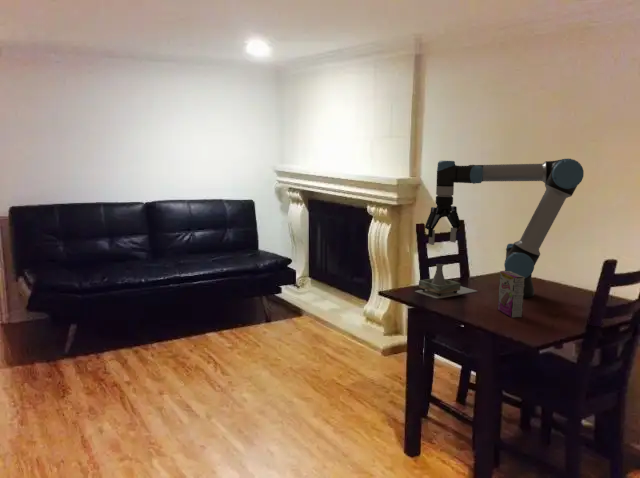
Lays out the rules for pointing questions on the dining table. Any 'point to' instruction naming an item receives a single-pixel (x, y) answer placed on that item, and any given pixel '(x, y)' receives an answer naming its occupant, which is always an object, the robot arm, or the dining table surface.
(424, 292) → the mat
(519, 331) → the dining table surface
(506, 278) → the candy bar box
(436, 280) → the flask
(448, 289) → the square tray
